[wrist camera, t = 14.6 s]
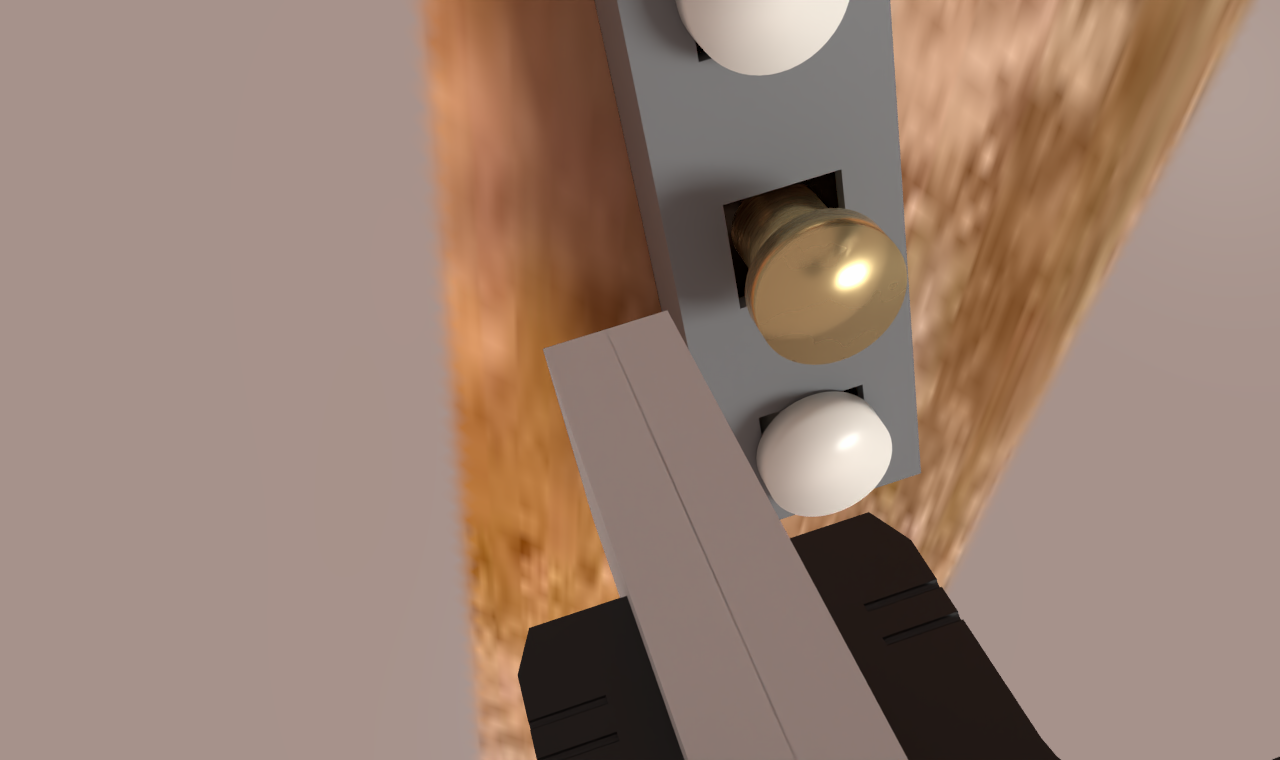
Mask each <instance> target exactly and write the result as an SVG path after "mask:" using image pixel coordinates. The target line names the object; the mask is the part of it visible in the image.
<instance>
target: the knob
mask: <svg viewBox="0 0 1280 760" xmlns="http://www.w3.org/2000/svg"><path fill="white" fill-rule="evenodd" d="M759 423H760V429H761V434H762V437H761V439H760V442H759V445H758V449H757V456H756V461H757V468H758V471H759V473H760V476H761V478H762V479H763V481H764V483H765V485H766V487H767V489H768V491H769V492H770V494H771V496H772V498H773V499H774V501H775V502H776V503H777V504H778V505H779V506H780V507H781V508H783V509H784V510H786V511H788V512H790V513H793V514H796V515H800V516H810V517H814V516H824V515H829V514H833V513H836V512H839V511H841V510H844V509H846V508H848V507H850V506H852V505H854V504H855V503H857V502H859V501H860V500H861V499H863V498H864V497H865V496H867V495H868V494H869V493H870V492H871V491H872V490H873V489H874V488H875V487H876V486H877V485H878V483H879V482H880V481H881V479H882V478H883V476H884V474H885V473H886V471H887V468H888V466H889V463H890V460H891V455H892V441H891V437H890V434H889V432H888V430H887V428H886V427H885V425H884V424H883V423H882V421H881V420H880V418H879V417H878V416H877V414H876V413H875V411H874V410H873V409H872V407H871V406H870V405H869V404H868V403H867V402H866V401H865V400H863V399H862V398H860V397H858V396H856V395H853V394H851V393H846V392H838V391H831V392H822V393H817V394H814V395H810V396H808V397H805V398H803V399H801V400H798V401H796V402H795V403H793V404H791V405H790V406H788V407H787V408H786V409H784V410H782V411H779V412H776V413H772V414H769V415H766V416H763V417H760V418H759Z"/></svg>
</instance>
